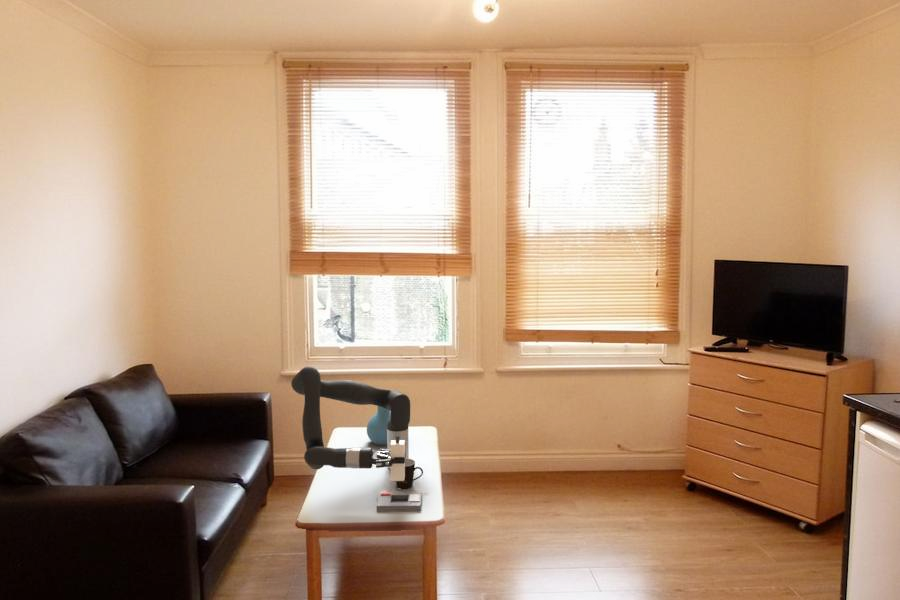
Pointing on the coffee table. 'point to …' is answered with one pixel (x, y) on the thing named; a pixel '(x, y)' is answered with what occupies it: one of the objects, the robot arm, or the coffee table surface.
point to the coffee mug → (408, 475)
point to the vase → (379, 426)
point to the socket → (399, 501)
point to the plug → (397, 451)
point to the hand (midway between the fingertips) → (404, 457)
